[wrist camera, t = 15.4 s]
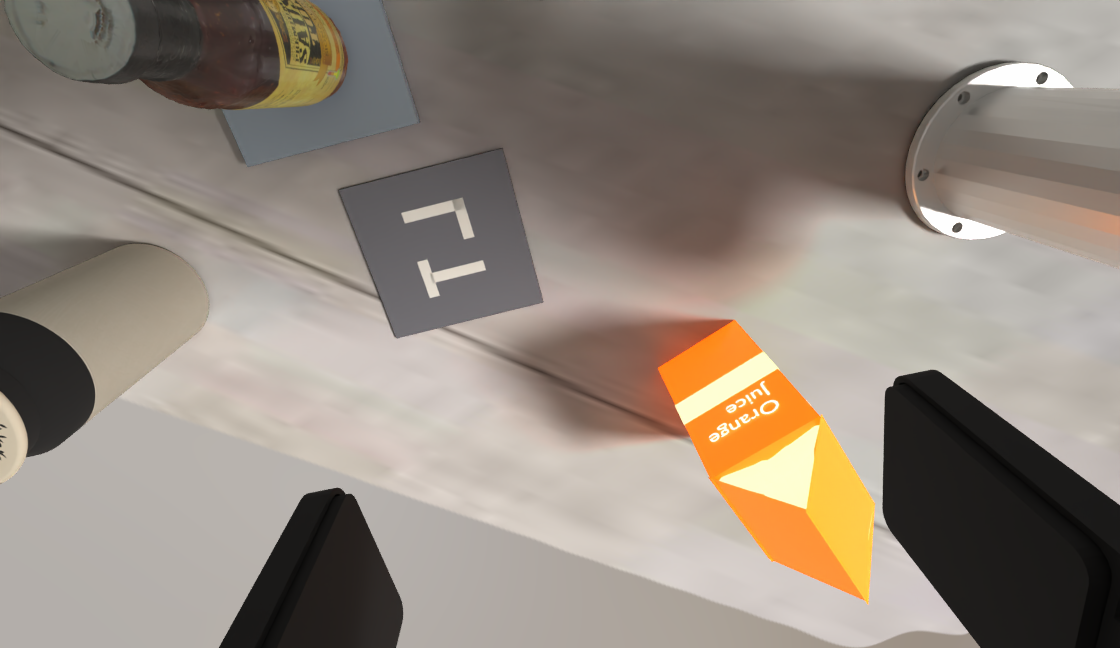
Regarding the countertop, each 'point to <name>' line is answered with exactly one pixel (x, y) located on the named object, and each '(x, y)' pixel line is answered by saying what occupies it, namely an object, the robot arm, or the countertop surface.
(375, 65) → the pad
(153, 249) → the travel mug
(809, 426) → the orange juice
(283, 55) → the sauce bottle
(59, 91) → the countertop surface
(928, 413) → the robot arm
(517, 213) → the tile
